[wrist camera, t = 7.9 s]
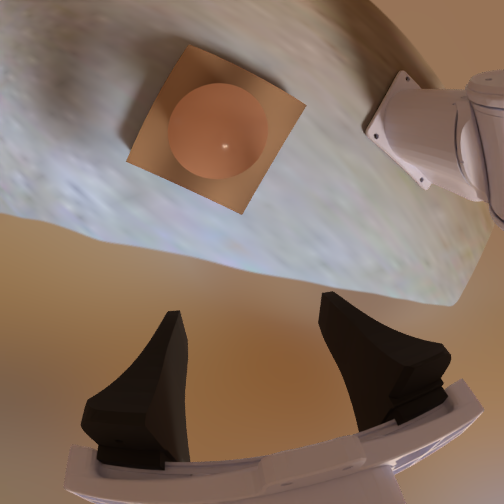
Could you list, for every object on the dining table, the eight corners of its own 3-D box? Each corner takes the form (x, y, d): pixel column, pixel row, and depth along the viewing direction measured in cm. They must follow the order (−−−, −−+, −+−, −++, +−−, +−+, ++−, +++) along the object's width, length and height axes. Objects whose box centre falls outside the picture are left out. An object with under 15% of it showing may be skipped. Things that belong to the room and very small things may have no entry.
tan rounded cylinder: (262, 112, 16) (284, 109, 11) (231, 173, 18) (241, 193, 13) (198, 84, 15) (194, 68, 10) (168, 147, 16) (152, 158, 11)
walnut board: (295, 107, 18) (306, 105, 16) (238, 204, 21) (242, 214, 19) (191, 53, 15) (188, 44, 13) (135, 156, 18) (126, 161, 16)
